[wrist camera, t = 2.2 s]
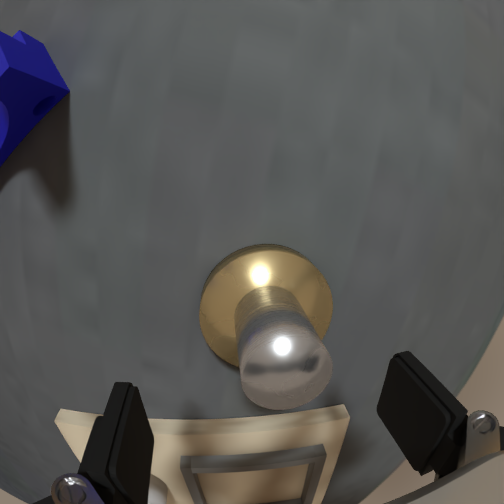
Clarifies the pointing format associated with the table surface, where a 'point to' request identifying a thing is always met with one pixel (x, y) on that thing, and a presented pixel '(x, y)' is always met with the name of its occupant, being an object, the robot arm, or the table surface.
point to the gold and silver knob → (270, 323)
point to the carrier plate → (235, 456)
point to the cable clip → (25, 88)
